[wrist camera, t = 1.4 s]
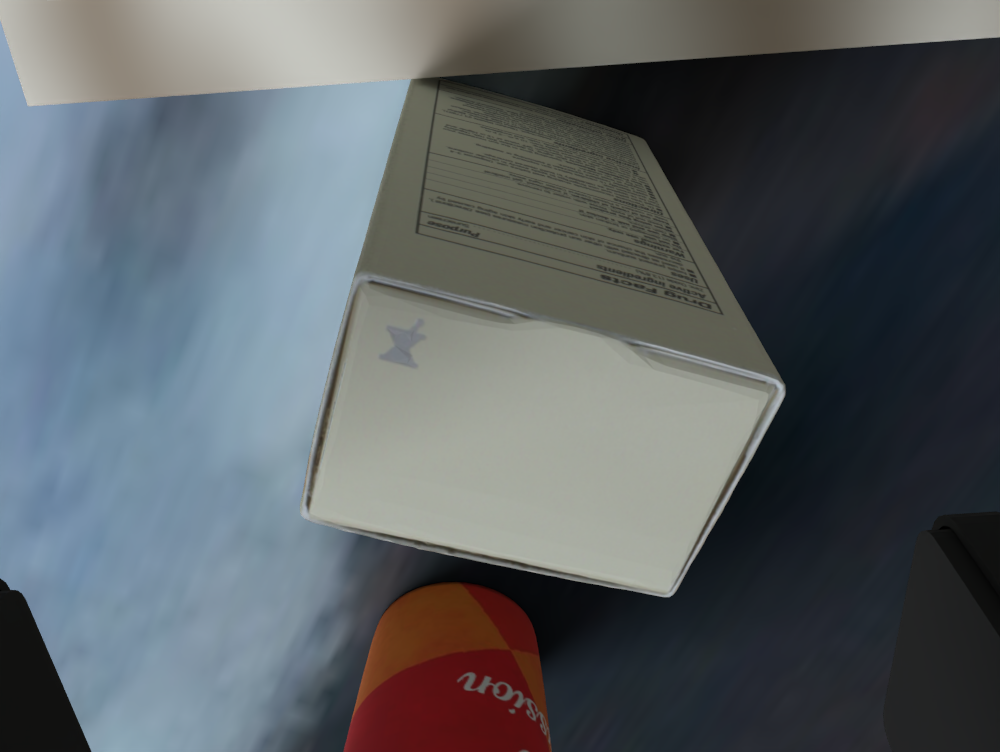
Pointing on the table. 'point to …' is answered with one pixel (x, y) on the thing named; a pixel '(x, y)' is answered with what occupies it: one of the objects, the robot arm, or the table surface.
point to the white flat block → (425, 38)
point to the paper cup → (452, 676)
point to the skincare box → (536, 354)
